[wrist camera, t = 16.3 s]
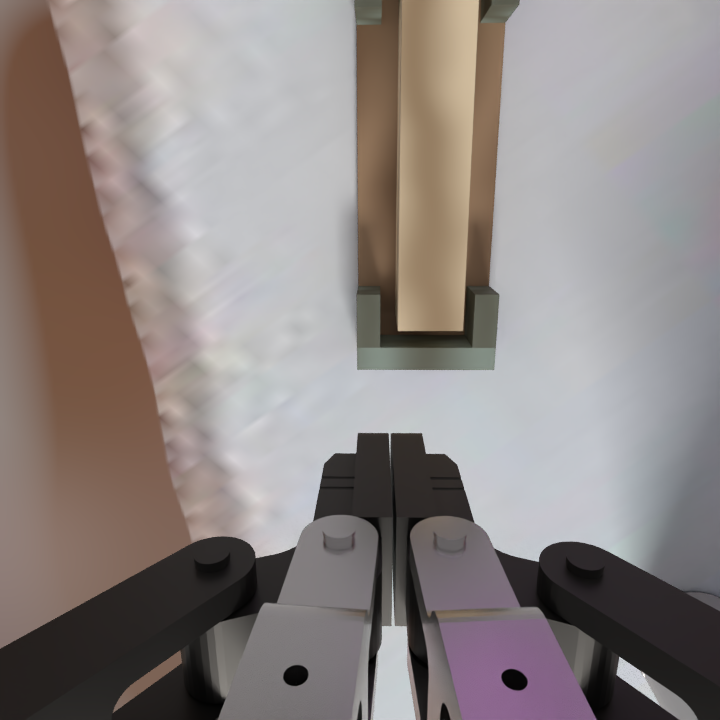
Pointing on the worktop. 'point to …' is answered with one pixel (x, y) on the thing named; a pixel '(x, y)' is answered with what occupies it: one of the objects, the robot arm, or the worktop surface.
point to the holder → (379, 192)
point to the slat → (434, 160)
